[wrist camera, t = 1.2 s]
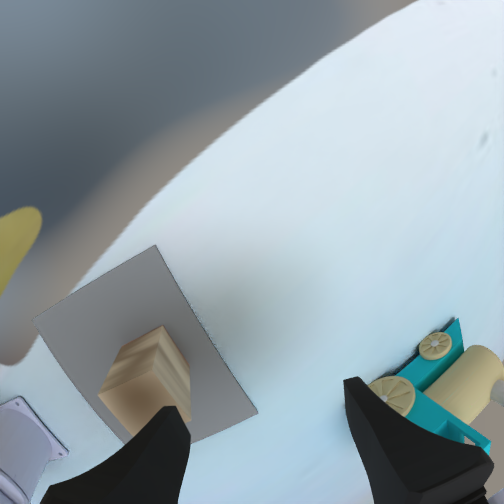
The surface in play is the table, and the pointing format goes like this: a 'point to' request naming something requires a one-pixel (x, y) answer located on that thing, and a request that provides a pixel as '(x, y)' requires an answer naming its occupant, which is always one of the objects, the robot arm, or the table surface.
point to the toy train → (446, 386)
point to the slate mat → (132, 327)
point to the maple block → (147, 380)
